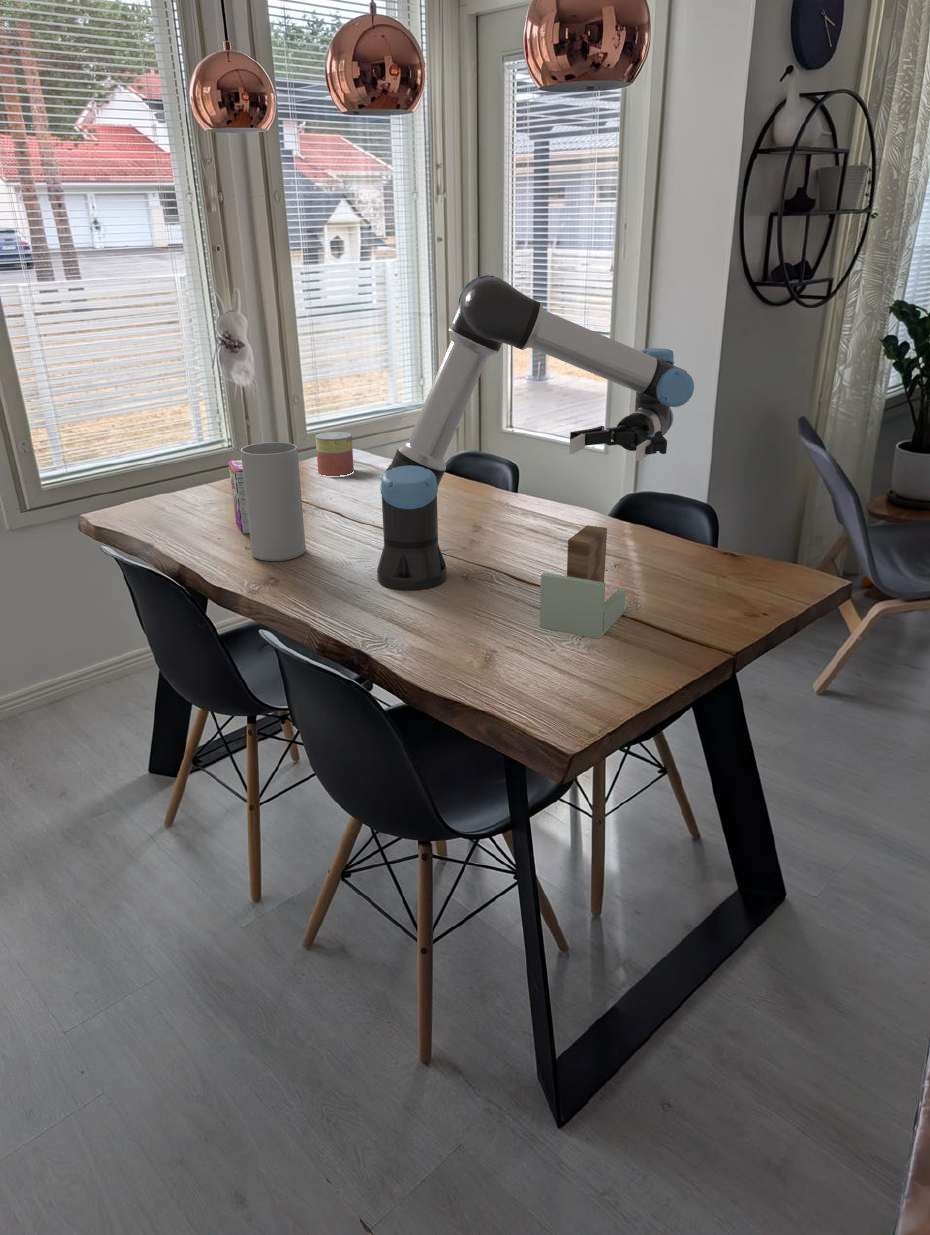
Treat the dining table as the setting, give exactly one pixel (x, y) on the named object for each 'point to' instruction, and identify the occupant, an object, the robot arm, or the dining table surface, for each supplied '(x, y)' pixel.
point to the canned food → (334, 453)
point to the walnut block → (587, 554)
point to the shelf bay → (578, 605)
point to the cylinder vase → (273, 500)
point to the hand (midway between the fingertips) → (604, 450)
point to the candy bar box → (239, 495)
